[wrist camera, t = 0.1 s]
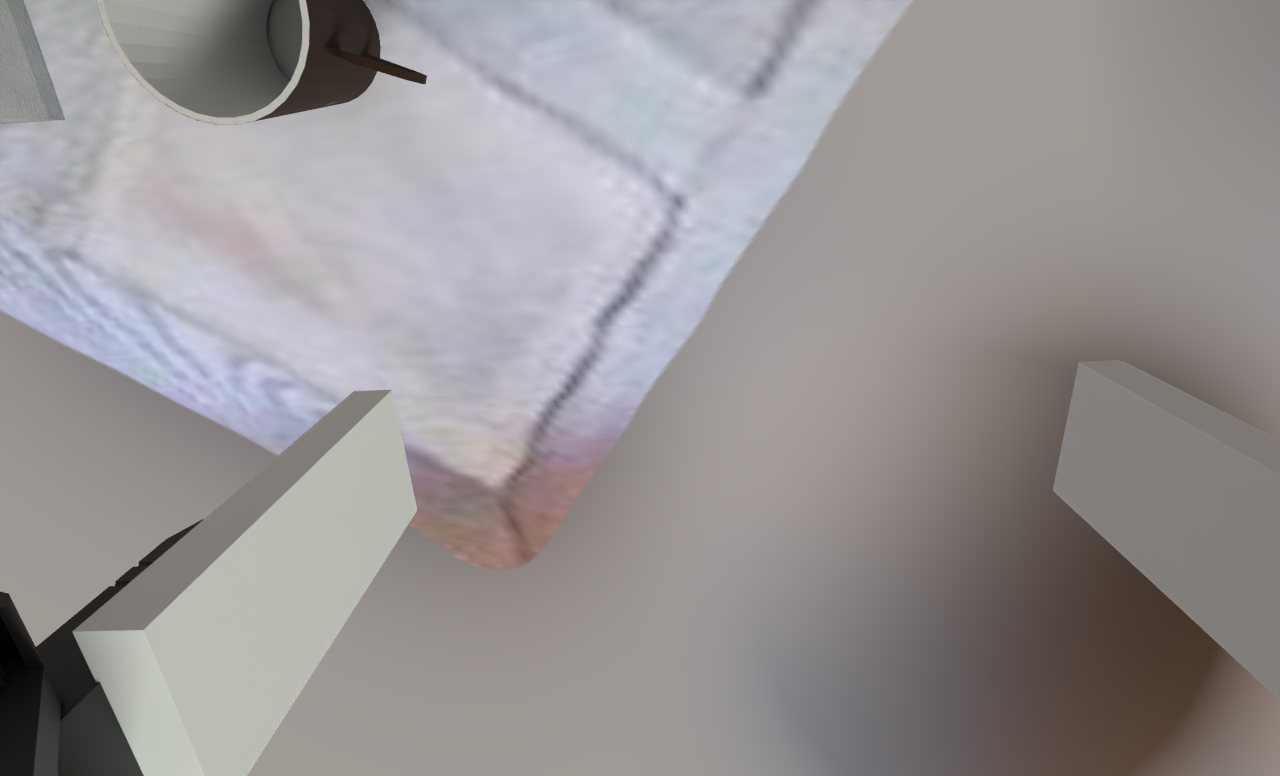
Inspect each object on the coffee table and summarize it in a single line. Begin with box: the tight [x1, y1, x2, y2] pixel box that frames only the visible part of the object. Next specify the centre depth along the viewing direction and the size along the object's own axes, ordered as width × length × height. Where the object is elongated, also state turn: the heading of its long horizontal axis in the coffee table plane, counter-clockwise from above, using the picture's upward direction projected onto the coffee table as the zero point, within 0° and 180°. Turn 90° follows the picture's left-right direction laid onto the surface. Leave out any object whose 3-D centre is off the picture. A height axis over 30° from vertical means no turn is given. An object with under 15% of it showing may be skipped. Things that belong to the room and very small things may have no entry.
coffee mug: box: [96, 0, 427, 125], centre depth 31 cm, size 12×9×10 cm
